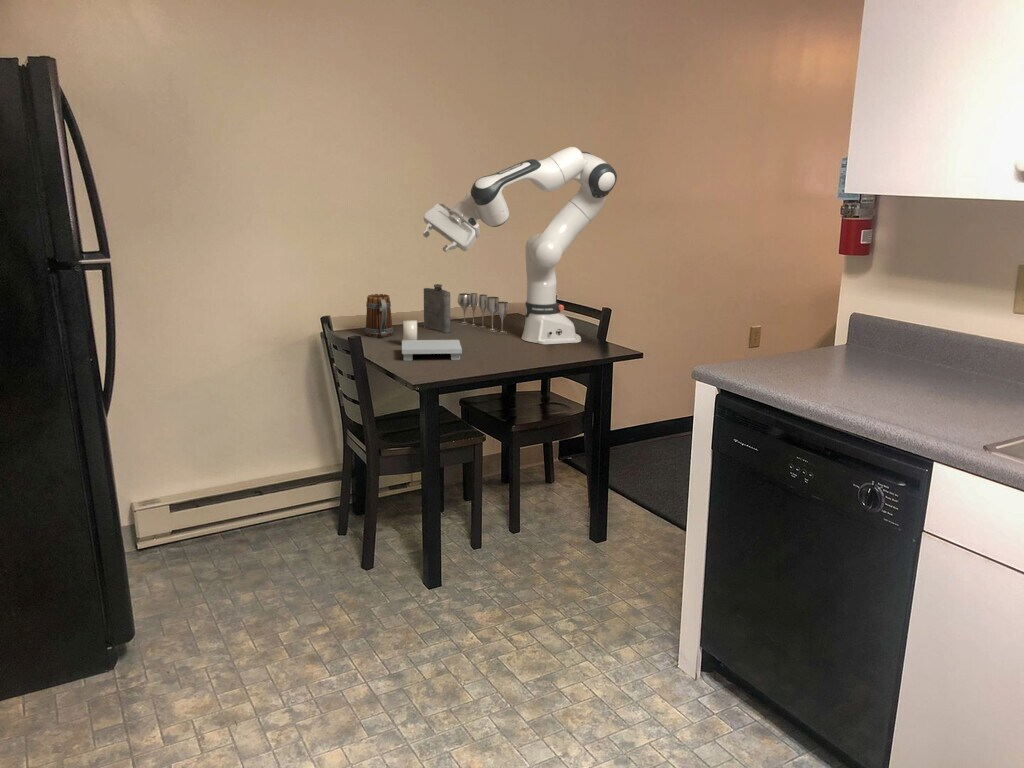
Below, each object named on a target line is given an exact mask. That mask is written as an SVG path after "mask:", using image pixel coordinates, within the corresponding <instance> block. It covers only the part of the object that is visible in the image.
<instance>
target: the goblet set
mask: <svg viewBox="0 0 1024 768" xmlns="http://www.w3.org/2000/svg"><path fill="white" fill-rule="evenodd" d="M457 296H458V297H457V304H458V305H459V306H460V308H461V309H462V311H463V321H461V322H462V323H466V322H467V321H466V311H467V309H468V308H469V307H471V311H472V316H473V317H472V325H475V324H476V323H475V313H476V312H475V311H476V308H477V305H478V306H479V309H480V311H481V316H482V317H481V318H482V323H481V324H482V326H480V327H485V326H484V318H485V317H484V316H485V311H486V309H487V311H488V313H489V314H490V316H491V328H489V329H490V330H495V329H496V328H494V317H495V315H496V313H497V315H498V316H499V318H500V320H501V321H500V322H501V330H499V331H500V332H505V331H506V330H503V329H504V328H503V327H504V319H505V318H506V316H507V314H508V313H509V306H510V305H509V302H508V301H500V297H498V296H488V295H487V294H484V293H483V294H479V295H478V293H477V292H471V293H465V292H463V293H458V295H457Z"/></svg>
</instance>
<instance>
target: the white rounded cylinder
mask: <svg viewBox="0 0 1024 768" xmlns="http://www.w3.org/2000/svg"><path fill="white" fill-rule="evenodd" d="M402 327H403V328H402V329H403V330H402V333H403V334H402V335H403V336H402V338H403V339H402V340H418V320H416V319H404V320H403V321H402Z"/></svg>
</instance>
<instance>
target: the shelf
mask: <svg viewBox="0 0 1024 768" xmlns="http://www.w3.org/2000/svg"><path fill="white" fill-rule="evenodd" d="M462 353H463V348H462V345H461V342H460V339H417V340H403V339H401V354H402V355H403V361H407V362H408V361H413V360H414V359H413V355H432V354H433V355H435V354H437V355H439V354H440V355H442V354H443V355H445V354H446V355H447V354H449V357H450V356H451V357H450V359H451V361H460V360H461V354H462Z"/></svg>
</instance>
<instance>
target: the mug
mask: <svg viewBox="0 0 1024 768" xmlns="http://www.w3.org/2000/svg"><path fill="white" fill-rule="evenodd" d="M365 303H366V313H365V314H366V318H365V319H366V320H365V329H364V332H365V335H366V336H368V337H369V338H370V337H371V338H387V337H391V336H392V335H393V334H394V327H393V319H392V309H391V307H392V304H391V300H390V295H389V294H384V293H379V294H378V293H374V294H368V295H367V298H366V302H365Z"/></svg>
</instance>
